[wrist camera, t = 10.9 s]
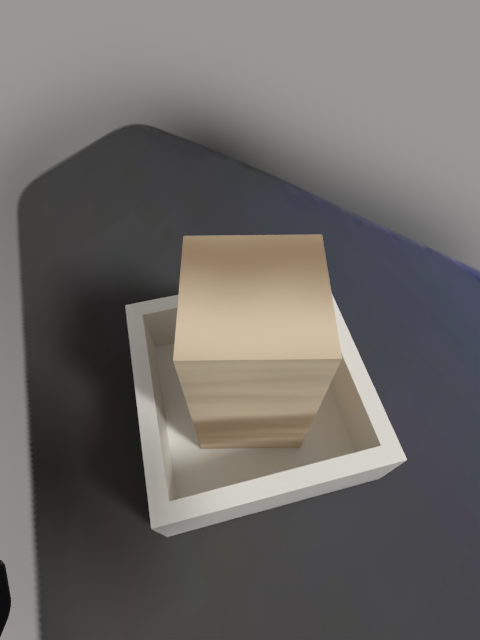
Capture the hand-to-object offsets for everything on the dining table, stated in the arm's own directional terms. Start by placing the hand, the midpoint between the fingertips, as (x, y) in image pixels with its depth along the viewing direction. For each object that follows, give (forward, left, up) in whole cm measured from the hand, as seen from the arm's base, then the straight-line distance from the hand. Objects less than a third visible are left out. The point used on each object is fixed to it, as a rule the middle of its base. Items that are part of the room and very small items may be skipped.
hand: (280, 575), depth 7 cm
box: (+8, -2, -13) cm, 16 cm away
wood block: (+8, -2, -13) cm, 15 cm away
